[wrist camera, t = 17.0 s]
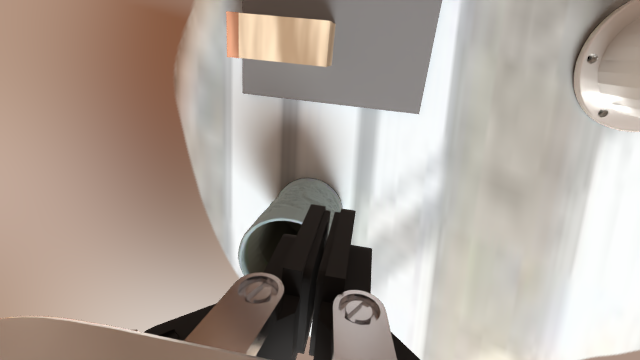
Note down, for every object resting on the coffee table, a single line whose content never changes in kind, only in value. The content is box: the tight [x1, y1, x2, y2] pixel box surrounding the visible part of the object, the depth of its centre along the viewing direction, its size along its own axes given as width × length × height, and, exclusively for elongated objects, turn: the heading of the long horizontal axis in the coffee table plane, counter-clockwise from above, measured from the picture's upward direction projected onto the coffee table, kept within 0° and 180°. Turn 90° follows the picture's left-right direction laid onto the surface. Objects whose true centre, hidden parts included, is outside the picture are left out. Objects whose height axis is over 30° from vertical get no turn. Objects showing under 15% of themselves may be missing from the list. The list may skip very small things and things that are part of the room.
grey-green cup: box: [238, 178, 342, 276], centre depth 37 cm, size 10×10×12 cm
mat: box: [243, 0, 442, 114], centre depth 35 cm, size 20×12×1 cm, turn 85°
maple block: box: [226, 11, 336, 67], centre depth 33 cm, size 4×4×10 cm
